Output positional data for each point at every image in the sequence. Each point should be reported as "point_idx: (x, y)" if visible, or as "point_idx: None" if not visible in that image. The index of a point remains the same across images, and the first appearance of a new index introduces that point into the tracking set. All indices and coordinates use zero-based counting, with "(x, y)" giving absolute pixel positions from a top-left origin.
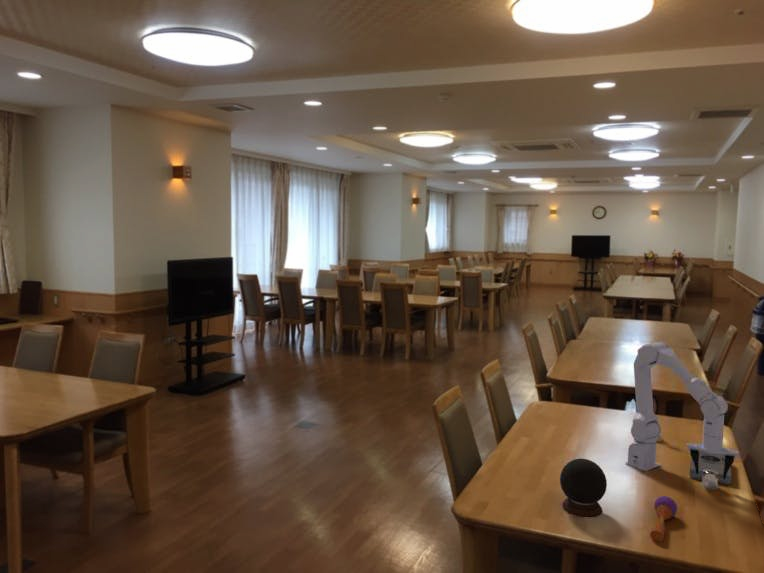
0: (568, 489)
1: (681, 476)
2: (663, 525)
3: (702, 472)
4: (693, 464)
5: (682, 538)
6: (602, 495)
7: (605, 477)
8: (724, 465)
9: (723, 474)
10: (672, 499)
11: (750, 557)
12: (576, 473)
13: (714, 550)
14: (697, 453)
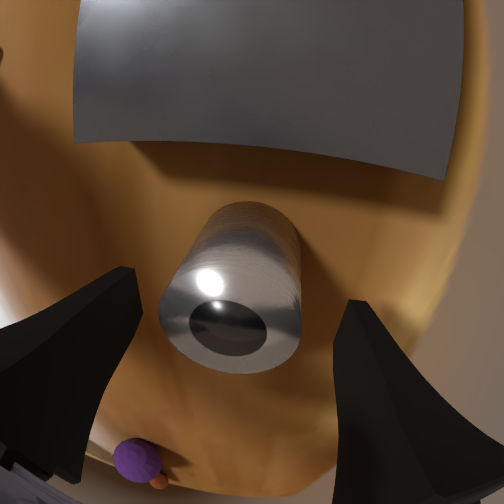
0: None
1: None
2: (158, 480)
3: (176, 138)
4: (99, 4)
5: (191, 476)
6: None
7: (41, 473)
8: (362, 423)
9: (336, 373)
10: (143, 481)
11: (290, 491)
12: None
13: (239, 488)
14: (43, 465)
